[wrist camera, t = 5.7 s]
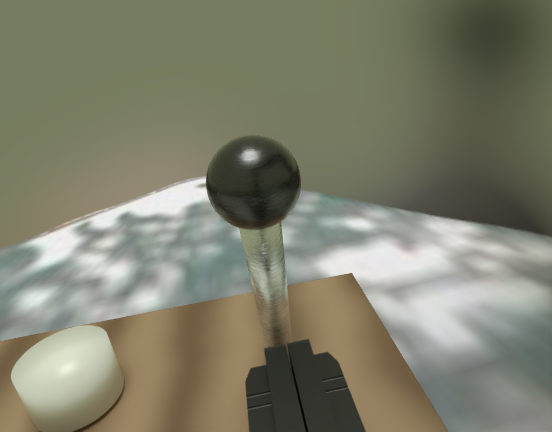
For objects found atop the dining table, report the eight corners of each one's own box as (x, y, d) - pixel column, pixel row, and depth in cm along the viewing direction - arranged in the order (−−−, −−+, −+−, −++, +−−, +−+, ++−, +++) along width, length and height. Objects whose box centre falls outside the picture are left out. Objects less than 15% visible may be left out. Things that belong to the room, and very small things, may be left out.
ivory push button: (131, 358, 26) (117, 318, 25) (112, 423, 21) (94, 378, 20) (53, 374, 26) (34, 334, 24) (17, 443, 21) (-9, 399, 20)
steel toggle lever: (300, 326, 25) (288, 108, 14) (312, 376, 23) (310, 169, 11) (250, 336, 25) (194, 124, 13) (257, 388, 23) (199, 188, 11)
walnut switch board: (354, 303, 33) (351, 273, 32) (459, 498, 19) (462, 454, 18) (-122, 398, 31) (-144, 368, 30) (-433, 710, 16) (-499, 676, 15)
